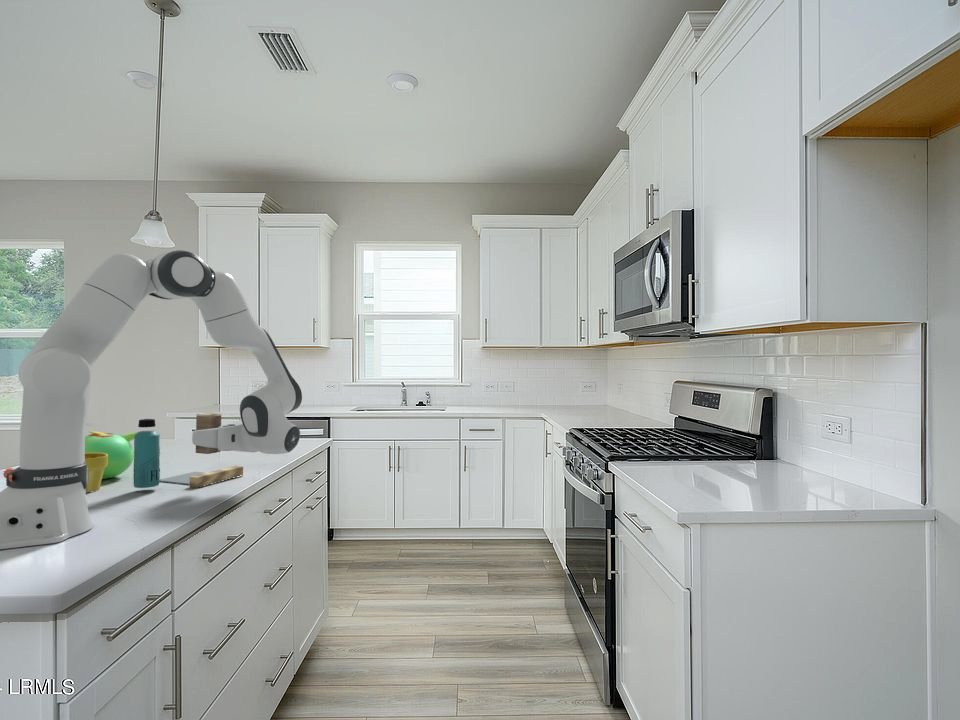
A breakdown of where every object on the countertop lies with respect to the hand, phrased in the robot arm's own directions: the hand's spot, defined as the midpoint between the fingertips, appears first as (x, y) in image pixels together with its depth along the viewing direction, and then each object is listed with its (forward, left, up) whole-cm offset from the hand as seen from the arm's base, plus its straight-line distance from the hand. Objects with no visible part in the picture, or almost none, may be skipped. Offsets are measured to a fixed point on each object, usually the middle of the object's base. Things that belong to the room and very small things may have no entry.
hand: (206, 432), depth 161 cm
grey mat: (+1, +16, -16) cm, 23 cm away
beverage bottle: (-13, +7, -16) cm, 22 cm away
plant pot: (-26, +17, -16) cm, 35 cm away
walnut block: (0, -1, -6) cm, 6 cm away
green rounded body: (-20, +33, -16) cm, 42 cm away
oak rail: (+6, +8, -16) cm, 19 cm away
